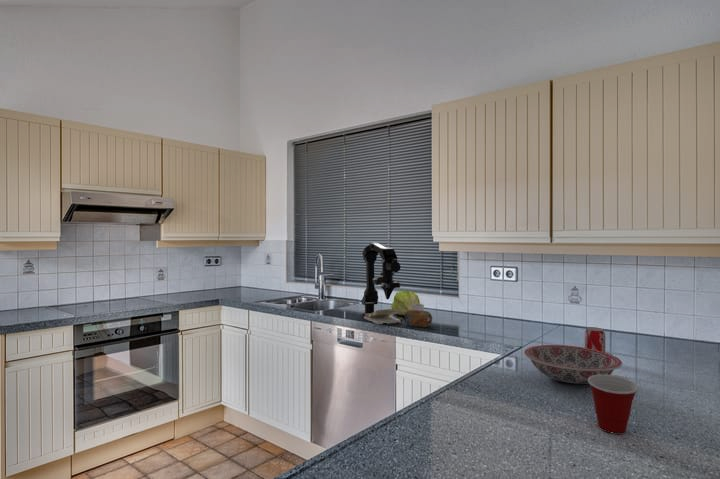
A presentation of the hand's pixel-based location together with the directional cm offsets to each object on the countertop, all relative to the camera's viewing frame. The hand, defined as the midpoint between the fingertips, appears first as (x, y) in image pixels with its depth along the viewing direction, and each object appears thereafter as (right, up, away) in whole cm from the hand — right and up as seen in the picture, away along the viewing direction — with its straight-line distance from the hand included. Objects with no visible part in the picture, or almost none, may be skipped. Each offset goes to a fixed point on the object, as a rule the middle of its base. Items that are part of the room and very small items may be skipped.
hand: (387, 299), depth 238 cm
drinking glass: (+17, -13, -1) cm, 21 cm away
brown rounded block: (+16, -13, -9) cm, 22 cm away
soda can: (+76, -14, -71) cm, 105 cm away
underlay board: (-3, -13, +6) cm, 14 cm away
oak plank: (-2, -9, +4) cm, 10 cm away
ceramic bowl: (+55, -14, -94) cm, 110 cm away
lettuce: (+13, -13, +21) cm, 28 cm away
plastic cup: (+47, -14, -131) cm, 140 cm away
